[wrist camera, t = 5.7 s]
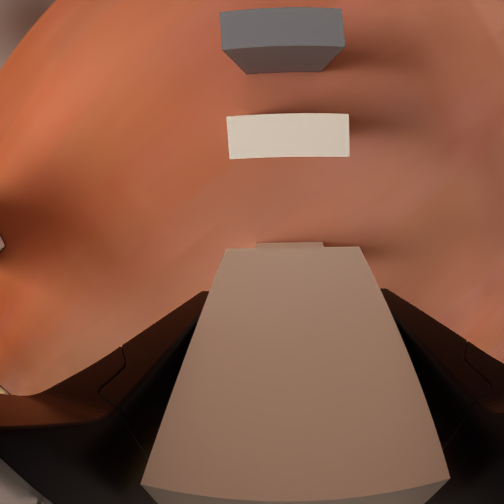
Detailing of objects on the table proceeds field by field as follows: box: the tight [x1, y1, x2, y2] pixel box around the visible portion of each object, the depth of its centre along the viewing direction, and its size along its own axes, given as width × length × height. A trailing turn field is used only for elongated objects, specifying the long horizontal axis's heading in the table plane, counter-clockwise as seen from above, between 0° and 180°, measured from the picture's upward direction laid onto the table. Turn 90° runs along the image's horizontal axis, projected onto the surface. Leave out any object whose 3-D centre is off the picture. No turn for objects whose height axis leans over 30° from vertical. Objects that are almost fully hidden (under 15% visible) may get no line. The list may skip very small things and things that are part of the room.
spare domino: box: [141, 246, 450, 504], centre depth 7 cm, size 2×4×8 cm, turn 93°
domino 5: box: [220, 7, 345, 74], centre depth 13 cm, size 2×4×8 cm, turn 94°
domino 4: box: [227, 113, 349, 159], centre depth 14 cm, size 2×4×8 cm, turn 93°
